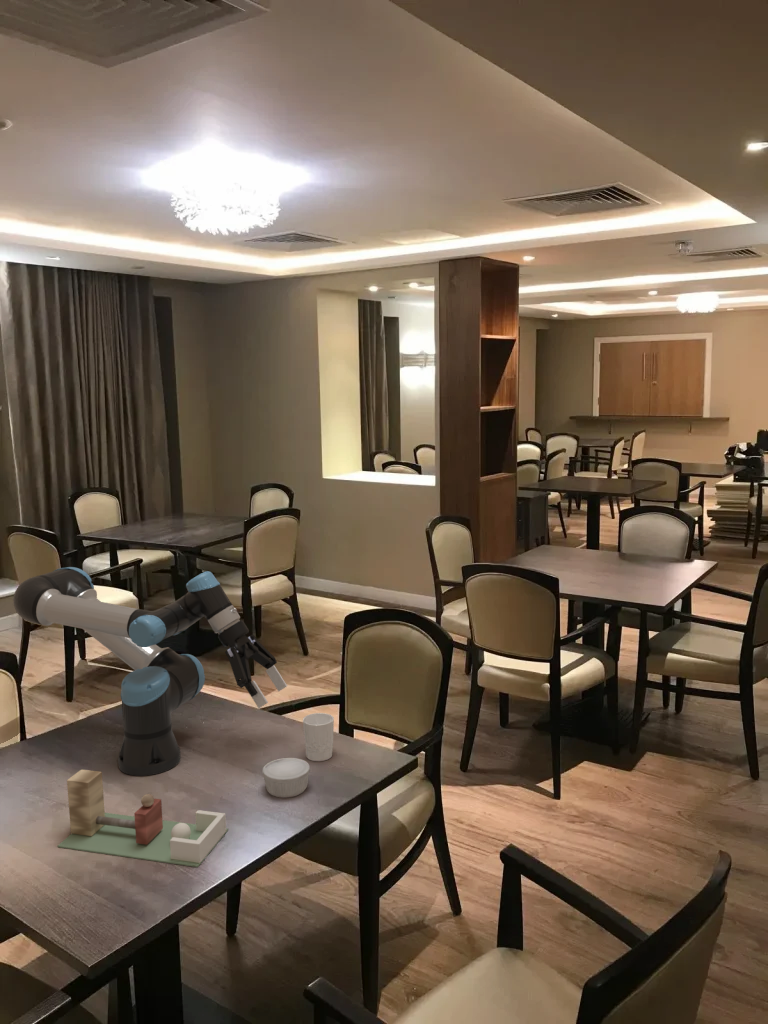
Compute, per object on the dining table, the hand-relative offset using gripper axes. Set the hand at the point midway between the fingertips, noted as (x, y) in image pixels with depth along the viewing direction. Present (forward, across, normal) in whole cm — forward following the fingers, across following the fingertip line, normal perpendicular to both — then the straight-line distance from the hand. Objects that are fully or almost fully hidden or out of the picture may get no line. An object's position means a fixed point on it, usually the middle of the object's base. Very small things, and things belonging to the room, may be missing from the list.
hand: (273, 696), depth 204 cm
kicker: (+4, -42, +26) cm, 50 cm away
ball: (+11, -42, +12) cm, 45 cm away
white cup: (+19, +3, 0) cm, 19 cm away
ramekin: (+19, -15, +2) cm, 25 cm away
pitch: (+8, -42, +21) cm, 48 cm away
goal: (+15, -42, +9) cm, 46 cm away
